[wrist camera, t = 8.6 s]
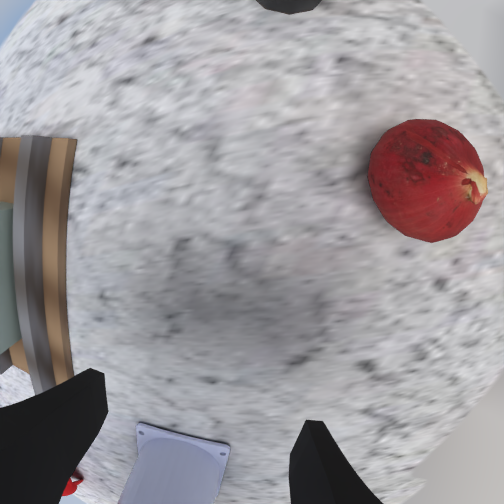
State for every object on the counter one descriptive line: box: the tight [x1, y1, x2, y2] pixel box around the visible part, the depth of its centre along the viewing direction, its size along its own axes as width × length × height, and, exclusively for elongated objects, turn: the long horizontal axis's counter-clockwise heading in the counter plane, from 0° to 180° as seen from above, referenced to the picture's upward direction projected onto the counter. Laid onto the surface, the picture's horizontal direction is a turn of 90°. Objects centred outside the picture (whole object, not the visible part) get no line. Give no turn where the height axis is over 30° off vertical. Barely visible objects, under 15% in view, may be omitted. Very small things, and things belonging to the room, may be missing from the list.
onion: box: [367, 119, 488, 243], centre depth 12 cm, size 6×6×8 cm
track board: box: [0, 136, 77, 395], centre depth 17 cm, size 20×10×3 cm, turn 169°
